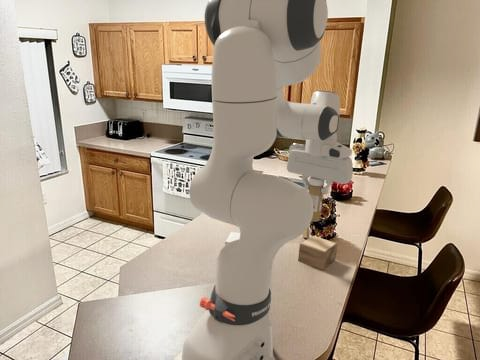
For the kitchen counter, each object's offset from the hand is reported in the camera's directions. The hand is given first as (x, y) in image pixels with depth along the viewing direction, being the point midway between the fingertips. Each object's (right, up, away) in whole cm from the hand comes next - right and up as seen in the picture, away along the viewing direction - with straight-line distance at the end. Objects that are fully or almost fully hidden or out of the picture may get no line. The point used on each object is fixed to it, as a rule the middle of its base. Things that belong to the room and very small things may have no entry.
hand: (315, 191), depth 111 cm
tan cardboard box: (+2, -23, +8) cm, 24 cm away
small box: (-25, -24, 0) cm, 34 cm away
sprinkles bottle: (0, -9, +3) cm, 9 cm away
